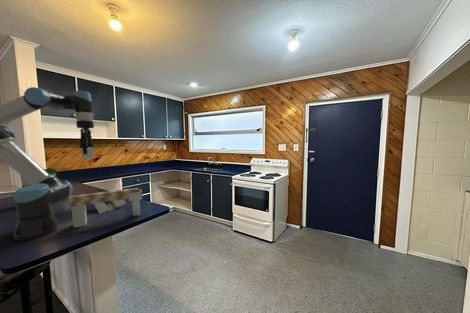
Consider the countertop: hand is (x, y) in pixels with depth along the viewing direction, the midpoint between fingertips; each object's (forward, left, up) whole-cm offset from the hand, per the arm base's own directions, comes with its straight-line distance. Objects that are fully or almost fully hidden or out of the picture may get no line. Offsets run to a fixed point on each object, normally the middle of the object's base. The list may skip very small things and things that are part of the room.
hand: (88, 159), depth 108 cm
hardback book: (-38, +56, -35) cm, 76 cm away
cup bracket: (+22, -6, -35) cm, 42 cm away
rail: (+8, -6, -24) cm, 26 cm away
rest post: (-5, -6, -35) cm, 36 cm away
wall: (+7, +16, -35) cm, 39 cm away
